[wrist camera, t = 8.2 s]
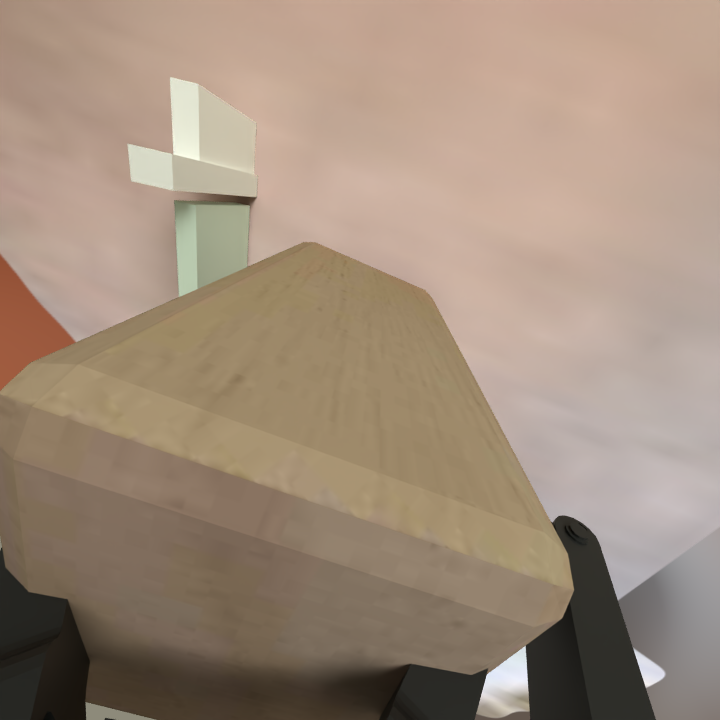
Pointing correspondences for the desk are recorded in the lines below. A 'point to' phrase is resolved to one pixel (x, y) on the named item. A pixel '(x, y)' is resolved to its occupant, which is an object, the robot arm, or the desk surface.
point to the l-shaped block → (201, 147)
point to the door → (209, 241)
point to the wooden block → (275, 499)
